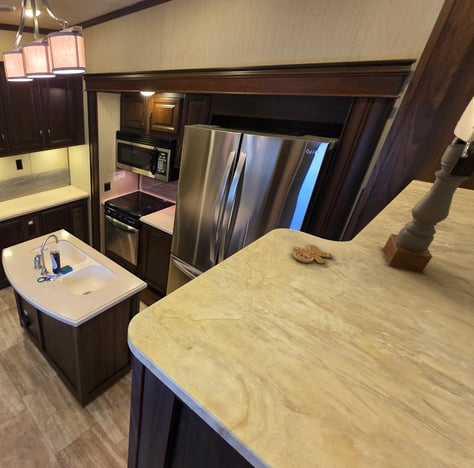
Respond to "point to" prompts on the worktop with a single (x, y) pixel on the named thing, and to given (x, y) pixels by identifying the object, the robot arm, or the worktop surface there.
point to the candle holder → (433, 204)
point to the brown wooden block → (405, 256)
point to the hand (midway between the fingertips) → (454, 170)
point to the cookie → (310, 254)
